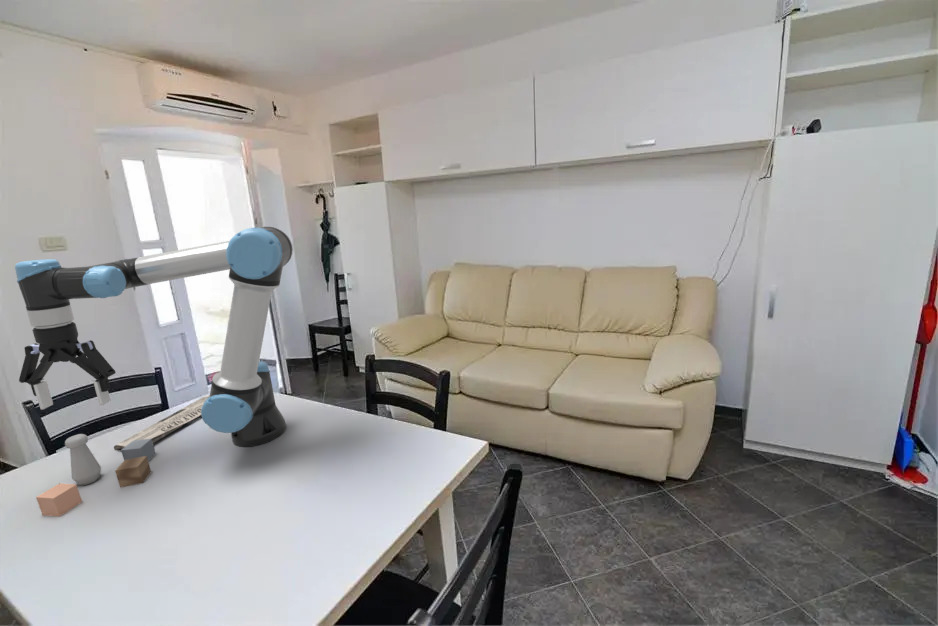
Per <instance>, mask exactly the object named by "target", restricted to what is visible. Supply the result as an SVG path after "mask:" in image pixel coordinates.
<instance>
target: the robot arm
mask: <svg viewBox="0 0 938 626" xmlns="http://www.w3.org/2000/svg"><path fill="white" fill-rule="evenodd" d="M293 250H294V249H293V244H292V241H291V239H290V237H289V236H288V235H287V234H286V233H285V232H284V231H283V230H281V229H279V228H277V227H273V226H261V227H255V226H254V227H249V228H245V229H242V230H240V231H239V232H237V233H236V234H234V235H233V236H232V238H231V239H230V240H227V241H223V242H222V241H221V242H217V243H211V244H204V245H200V246H194V247H188V248H183V249H177V250H172V251H171V250H170V251H166V252H161V253H155V254H150V255H144V256H140V257H133V258H132V257H131V258H126V259H125V258H124V259H119V260H117V261H116V260H115V261H111V262H105V263H100V264H95V265H94V264H93V265H89V266H76V267H62V265H61V264H60V262H59V260H57V259H53V258H51V259H49V258H48V259H47V258H46V259H32V260H24V261H20V262H17V263H16V264H15V265H14V270H15V275H16V278H17V279H16V282H17V284H18V287H19V290H20V292H21V296H22V298H23V301H24V304H25V309H26V312H27V316H28V317H27V318H28V320H29V324H30V327H33V329H32V334H33V337H34V341H35V342H36V343H32V344H29V345H27V346H24V353H25V354H24V355H25V357H24V360H23V364H22V367H21V371H20V375H19V379H18V381H19V383H21V384H24V383H25V384H26V383H27V384H28V385H29V386H30V387H31V391H32V394H33V395H34V397H36V399H37V401H38V406H39V408H40V410H45V409H48V408H49V407H51V406H53V405H54V402H53V399H52V395H51V392H50V388H49V384H48V382H47V380H45V378H44V377H46V374H47V373H48V371H49V370H50V368H51V367H52V365H53V364H54V363H59V362H63V363H67V362H70V363H72V364H75V365H77V366H78V367H79V368H80V369H82V370H83V371H85V372H86V373H87V374H88V375H90V376H91V377H92V378H94V379H95V380H94V381H93V385H94V389H95V390H94V391H95V393H96V396H97V402H98V404H99V406H105V405H106V404H107V403H109V402H110V401H111V397H110V396H111V395H110V392H109V391H110V390H111V385H110V382H109V381H110V380H109V378H110V377H112V376H114V375H115V374H116V370H115V369H114V368H113V366H111V364H110V363H109V362H108V361H107V360H106V358H104V356H103V355H102V354H101V352H100V351H99V350H98V348H97V347H96V344H95V342H94V341H93V340H87V341H86V342H80V341H79V340H78V336H79V332H78V329H77V328H78V327H77V324H76V322H74V320H75V317H74V314H73V310H72V306H71V302H70V300H73V299H74V300H76V299H79V300H81V299H99V298H100V299H106V298H112V297H114V298H115V297H118V296H120V295H122V294H123V292H124V291H125V290H127V289H128V290H129V289H133V288H137V287H141V286H147V285H152V284H157V283H162V282H168V281H173V280H179V279H185V278H191V277H195V276H200V275H202V276H203V275H206V274H211V273H216V272H217V273H218V272H222V271H228V272H229V273H228V279H229V280H230V281H231V283H232V284H233V285H234V286H233V292H232V298H231V303H230V311H229V316H228V322H227V328H226V334H225V335H226V336H225V339H224V340H225V341H224V346H223V354H222V357H221V358H222V359H221V365H220V371H218V372H216V373H215V374H214V375H213V376H212V380H211V386H210V391H209V395H210V396H209V398H208V399H206V401H205V402H204V404H203V406H202V409H201V416H200V417H201V418H202V421H203V423H205V424H206V425H207V426H208V427H209V428H210V429H211V430H213V431H216V432H218V433H224V434H230V435H231V436H230V437H231V441H232V443H233V444H234V445H236V447H237V446H238V447H243V448H244V447H245V448H248V447H254V446H260V445H263V444H266V443H268V442H271V441H273V440H275V439H276V438H278V437H280V436H281V435H282V434H284V432H285V431H286V430H287V424H286V419H285V417H284V416H283V414H282V413H281V411H280V410H279V408H278V407H277V405H276V399H275V395H274V390H273V383H272V379H271V370H270V369H269V364H268V363H267V362H266V361H262V360H260V358H261V353H262V347H263V346H262V345H263V342H264V335H265V331H266V330H265V329H266V326H267V325H266V324H267V320H268V319H267V318H268V313H269V309H270V303H271V297H272V292H273V290H275V289H276V288H278V287H279V286H280V284H281V278H282V272H283V267H285V266H286V265H287V264H288V263H289V262H290V260H291V259H292V256H293V252H294V251H293ZM41 354H42V357H41V359H40V360H39V358H40V355H41ZM38 362H39V364H38Z"/></svg>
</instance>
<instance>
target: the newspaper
mask: <svg viewBox="0 0 938 626" xmlns="http://www.w3.org/2000/svg"><path fill="white" fill-rule="evenodd" d="M205 396H206V397H204V396H203V397H200V398H199V399H197V400H196V401H193V402H192V403H190V404H188V405H186V406H185V407H183V408H181V409H179V410H177V411H175V412H174V413H172V414H170V415H168V416H166V417H165V418H163V419H160V420H159V421H157V422H155V423H153V424H152V425H150V426H148V427H146V428H144V429H142V430H141V431H138V432H137V433H135V434H133V435H132V436H130V437H128V438H125V439H124V440H123V441H121V442H119V443H117V444H116V445H114V446H113V449H114V450H119V449H123V448H124V447H126V446H127V445H128V444H129V443H131V442H132V441H134V440H143V439H152V442H153V444H154V443H156V442H157V441H160V440H161V439H163V438H164V437H167V436H168V435H170V434H171V433H173V432H175V431H176V430H178V429H181V428H182V427H184V426H185V425H188V423H190V422H192V421H195V419H197V418H199V417H202V416H201V409H202V406H203V404H204V402H205V401H206V399H208V398H209V396H210V394H208V395H205Z"/></svg>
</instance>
